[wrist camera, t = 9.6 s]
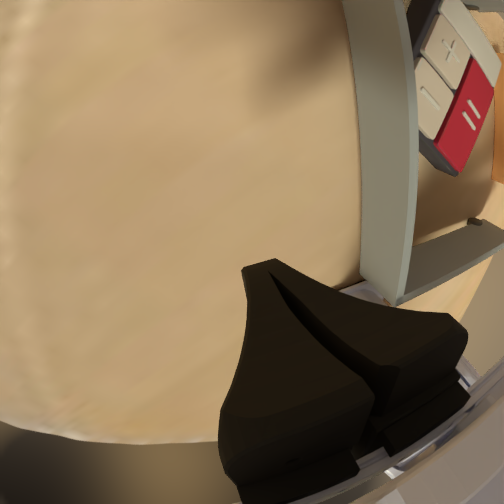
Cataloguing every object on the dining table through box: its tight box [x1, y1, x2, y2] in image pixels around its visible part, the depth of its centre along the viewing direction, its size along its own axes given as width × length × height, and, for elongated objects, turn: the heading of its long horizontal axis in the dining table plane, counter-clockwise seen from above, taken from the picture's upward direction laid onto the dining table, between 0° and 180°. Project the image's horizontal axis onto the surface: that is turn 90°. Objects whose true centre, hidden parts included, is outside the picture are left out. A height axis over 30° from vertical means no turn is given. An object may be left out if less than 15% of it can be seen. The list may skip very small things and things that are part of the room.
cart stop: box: [492, 53, 504, 184], centre depth 21 cm, size 16×2×2 cm, turn 9°
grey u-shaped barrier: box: [342, 0, 504, 307], centre depth 17 cm, size 27×20×6 cm
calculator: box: [406, 0, 501, 177], centre depth 17 cm, size 11×4×15 cm
